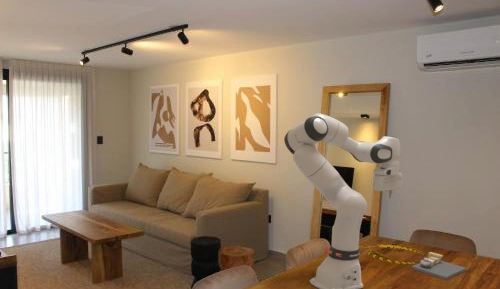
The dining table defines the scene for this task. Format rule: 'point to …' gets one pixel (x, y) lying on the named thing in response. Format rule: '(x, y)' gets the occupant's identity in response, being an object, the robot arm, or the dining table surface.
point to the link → (430, 262)
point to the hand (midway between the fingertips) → (388, 199)
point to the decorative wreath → (389, 257)
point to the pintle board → (440, 268)
